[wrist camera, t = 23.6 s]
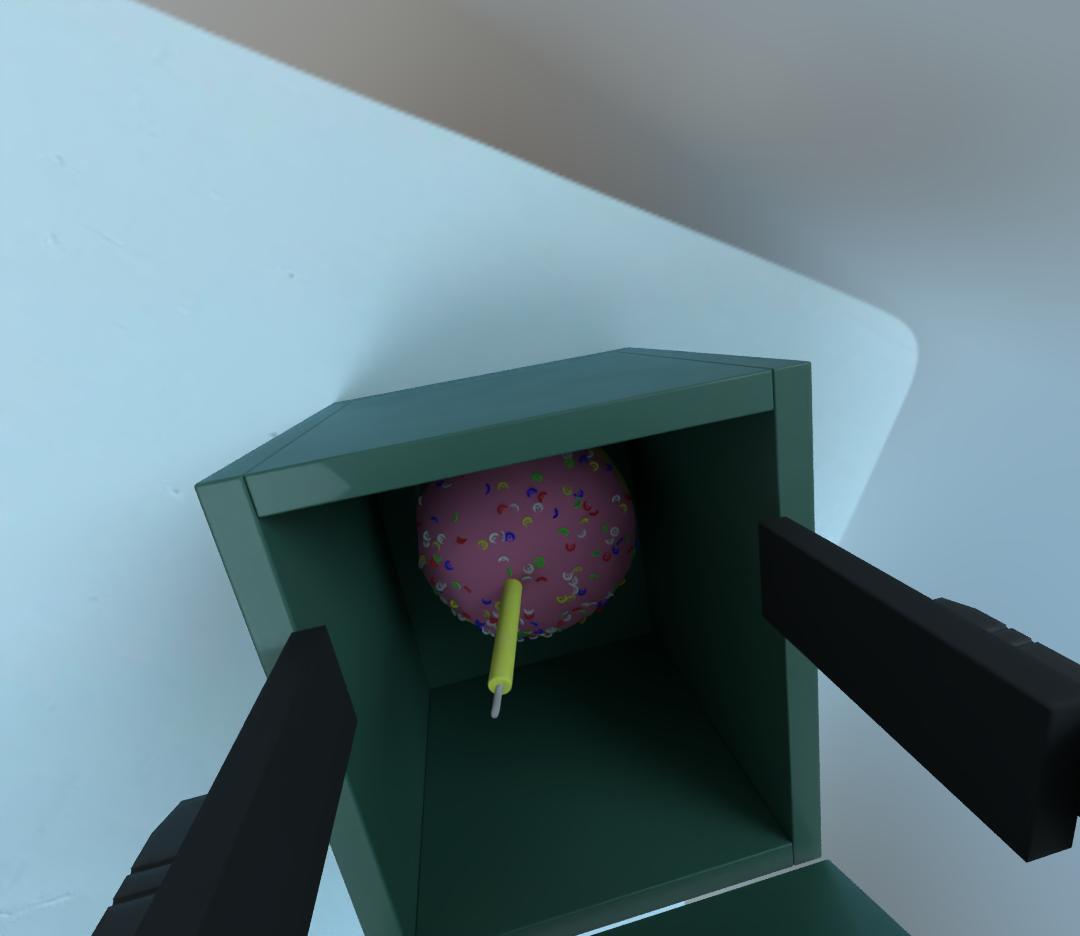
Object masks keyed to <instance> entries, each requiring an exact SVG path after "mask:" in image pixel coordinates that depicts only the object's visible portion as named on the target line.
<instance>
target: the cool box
mask: <svg viewBox="0 0 1080 936" xmlns="http://www.w3.org/2000/svg"><path fill="white" fill-rule="evenodd" d="M595 447H601V448H602V449H603V450H604V451H605V452H606V453H607V455H608V456H609V457H610V459H611V460H612V462H613V463H614V465H615V466H616V468H617V469H618V470H619V472H620V473H621V475H622V476H623V478H624V480H625V482H626V484H627V487H628V490H629V493H630V496H631V500H632V504H633V508H634V512H635V536H636V539H637V540H638V545H637V547H635V550H636V553H635V555H634V556H633V560H632V564H631V566H630V569H629V571H628V572H627V574H626V575H625V577H624V579H626V581H625V583H624V584H622V585H619V586H618V587H617V588H616V590H615V591H614V593H613V594H614V595H613V596H610V598H609V599H608V603H607V604H606V605H605V606H604V609H603V610H602V611H600V612H598V611H596V610H595V611H594V612H593V613H592V614H591V615H590V616H586V620H585V622H584V623H582V624H580V622H577V623H576V624H574V625H572V626H570V627H568V628H566V629H563V630H562V632H554V633H552V636H551V637H549V638H546V637H544V636H538V637H537V638H536V639H534V640H531V639H529V637H528V636H527V637H524V638H525V639H524V641H522V642H516V652H515V661H514V671H513V680H512V688H511V690H510V691H509V692H508V693H506V694H503V695H502V697H501V705H500V711H499V714H498V717H497V718H492V716H491V711H492V706H493V699H494V693H493V692H491V691H490V689H489V688H488V680H489V673H490V667H491V661H492V655H493V649H494V642H495V637H493V636H492V635H491V634H490V633H489V634H487V635H486V634H484V633H483V632H482V631H480V630H479V629H480V628H481V627H479V626H477V625H475V624H472V623H470V622H468V621H466V620H465V621H461V620H460V619H459V618H458V614H457V613H456V614H457V615H456V616H454V614H453V613H452V610H451V608H450V607H449V606H448V605H447V604H445V603H444V602H442V600H441V599H440V597H438V596H437V595H436V594H435V593H434V592H433V590H432V587H431V585H430V584H429V582H428V580H427V578H426V576H425V574H424V572H423V570H422V568H421V569H420V568H419V565H418V563H419V552H418V532H417V526H416V521H417V520H416V508H417V502H418V499H419V497H420V495H421V493H422V491H423V489H424V488H425V486H426V484H427V483H428V482H433V481H438V480H443V479H447V478H452V477H457V476H462V475H466V474H471V473H476V472H481V471H486V470H490V469H495V468H500V467H505V466H509V465H514V464H519V463H524V462H528V461H533V460H538V459H543V458H548V457H552V456H557V455H562V454H567V453H571V452H576V451H581V450H586V449H590V448H595ZM195 490H196V493H197V496H198V498H199V501H200V504H201V506H202V509H203V511H204V514H205V517H206V519H207V522H208V525H209V527H210V530H211V532H212V535H213V538H214V540H215V543H216V546H217V548H218V551H219V554H220V556H221V559H222V561H223V564H224V567H225V569H226V572H227V575H228V577H229V580H230V582H231V585H232V588H233V590H234V593H235V596H236V598H237V601H238V603H239V606H240V609H241V611H242V614H243V617H244V619H245V622H246V625H247V627H248V630H249V632H250V635H251V638H252V640H253V643H254V646H255V648H256V651H257V653H258V656H259V659H260V661H261V664H262V667H263V669H264V672H265V674H266V677H267V679H268V677H269V675H270V673H271V671H272V669H273V667H274V665H275V663H276V661H277V660H278V658H279V656H280V654H281V652H282V650H283V648H284V646H285V644H286V642H287V640H288V638H289V636H290V635H291V633H293V632H297V631H301V630H305V629H310V628H314V627H318V626H322V625H326V627H327V630H328V633H329V636H330V639H331V642H332V645H333V648H334V651H335V654H336V657H337V660H338V663H339V666H340V669H341V672H342V675H343V678H344V680H345V683H346V686H347V689H348V692H349V695H350V698H351V701H352V704H353V707H354V710H355V713H356V716H357V719H358V723H357V727H356V732H355V736H354V740H353V744H352V749H351V753H350V757H349V761H348V766H347V770H346V774H345V778H344V783H343V787H342V791H341V795H340V800H339V804H338V808H337V812H336V817H335V821H334V825H333V829H332V834H331V838H330V842H329V843H330V845H331V848H332V851H333V853H334V856H335V858H336V861H337V864H338V866H339V869H340V872H341V874H342V877H343V880H344V882H345V885H346V887H347V890H348V893H349V895H350V898H351V901H352V903H353V906H354V908H355V911H356V914H357V916H358V919H359V922H360V924H361V927H362V929H363V932H364V935H365V936H576V935H579V934H582V933H585V932H589V931H592V930H595V929H598V928H601V927H604V926H607V925H610V924H614V923H617V922H620V921H623V920H626V919H629V918H632V917H635V916H639V915H642V914H645V913H648V912H651V911H654V910H657V909H660V908H664V907H667V906H670V905H673V904H676V903H679V902H682V901H685V900H688V899H692V898H695V897H698V896H701V895H704V894H707V893H710V892H714V891H717V890H720V889H723V888H726V887H729V886H732V885H735V884H738V883H742V882H745V881H748V880H751V879H754V878H757V877H760V876H764V875H766V874H770V873H773V872H776V871H779V870H782V869H785V868H789V867H792V866H793V865H798V864H801V863H804V862H807V861H810V860H814V859H817V858H820V857H821V809H820V764H819V714H818V668H817V667H816V666H815V665H814V664H813V663H812V662H811V661H810V660H809V659H808V658H807V657H805V656H804V655H803V654H802V653H801V652H800V651H799V650H798V649H797V648H796V647H795V646H794V645H793V644H791V643H790V642H789V641H788V640H787V639H786V638H785V637H784V636H783V635H782V634H781V633H780V632H779V631H778V630H776V629H775V628H774V627H773V626H772V625H771V624H770V623H769V622H768V621H767V620H766V619H765V618H764V617H763V616H762V599H761V577H760V555H759V534H758V523H759V522H763V521H768V520H772V519H776V518H780V517H785V516H786V517H788V518H790V519H792V520H793V521H795V522H797V523H799V524H800V525H802V526H804V527H806V528H807V529H809V530H811V531H813V532H814V533H815V524H814V477H813V429H812V382H811V362H809V361H797V360H784V359H772V358H759V357H746V356H734V355H721V354H708V353H696V352H683V351H670V350H657V349H645V348H630V347H629V348H623V349H618V350H613V351H607V352H602V353H597V354H591V355H586V356H581V357H576V358H570V359H565V360H560V361H554V362H549V363H544V364H538V365H533V366H528V367H522V368H517V369H512V370H506V371H501V372H496V373H491V374H485V375H480V376H475V377H469V378H464V379H459V380H453V381H448V382H443V383H437V384H432V385H427V386H422V387H416V388H411V389H406V390H400V391H395V392H390V393H384V394H379V395H374V396H368V397H363V398H358V399H353V400H347V401H342V402H337V403H333V404H332V405H330V406H328V407H326V408H325V409H323V410H321V411H319V412H318V413H316V414H314V415H313V416H311V417H309V418H308V419H306V420H304V421H302V422H301V423H299V424H297V425H296V426H294V427H292V428H291V429H289V430H287V431H285V432H284V433H282V434H280V435H279V436H277V437H275V438H274V439H272V440H270V441H268V442H267V443H265V444H263V445H262V446H260V447H258V448H257V449H255V450H253V451H251V452H250V453H248V454H246V455H245V456H243V457H241V458H240V459H238V460H236V461H234V462H233V463H231V464H229V465H228V466H226V467H224V468H223V469H221V470H219V471H217V472H216V473H214V474H212V475H211V476H209V477H207V478H206V479H204V480H202V481H200V482H199V483H197V484H196V485H195ZM635 545H636V543H635ZM420 565H421V564H420ZM622 581H623V580H622ZM621 583H622V582H621ZM605 603H606V602H605ZM605 603H604V604H605ZM600 607H601V606H600ZM601 608H602V607H601ZM601 608H600V609H601ZM598 609H599V607H598ZM460 617H461V616H460ZM461 618H462V617H461ZM462 619H463V618H462ZM583 619H584V618H583ZM582 621H583V620H582ZM582 621H581V622H582ZM486 632H488V631H486ZM491 633H492V632H491ZM492 634H494V633H492ZM495 635H496V633H495ZM548 635H550V634H548ZM518 638H521V637H520V636H519V637H518ZM518 640H521V639H518Z"/></svg>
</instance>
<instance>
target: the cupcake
mask: <svg viewBox="0 0 1080 936" xmlns="http://www.w3.org/2000/svg"><path fill="white" fill-rule="evenodd" d="M416 520H417V521H416V526H417V532H418V552H419V563H418V565H419V568H420V569H421V568H422V570H423V572H424V574H425V576H426V578H427V580H428V582H429V584H430V585H431V587H432V590H433V592H434V593H435V594H436V595H437V596H438V597H440V599H441V600H442V602H444V603H445V604H447V605H448V606H449V607H450V608H451V610H452V613H453V614H454V616H456V615H457V614H458V618H459V619H460V620H461V621H465V620H466V621H468V622H470V623H472V624H475V625H477V626H479V627H481V628H480V629H479V630H480V631H482V632H483V633H484V634H486V635H487V634H489V633H490V634H491V635H492V636H493V637H495V642H494V649H493V655H492V661H491V667H490V673H489V680H488V688H489V689H490V691H491V692H493V693H494V699H493V706H492V711H491V716H492V718H497V717H498V714H499V711H500V705H501V697H502V695H503V694H506V693H508V692H509V691H510V690H511V688H512V680H513V671H514V661H515V652H516V642H522V641H524V639H525V638H524V637H527V636H528V637H529V639H531V640H534V639H536V638H537V637H538V636H544V637H546V638H549V637H551V636H552V633H554V632H562V630H563V629H566V628H568V627H570V626H572V625H574V624H576V623H577V622H580V624H582V623H584V622H585V620H586V616H590V615H591V614H592V613H593V612H594V611H595V610H596V611H598V612H600V611H602V610H603V609H604V606H605V605H606V604H607V603H608V599H609V598H610V596H613V595H614V594H613V593H614V591H615V590H616V588H617V587H618V586H619V585H622V584H624V583H625V581H626V579H624V577H625V575H626V574H627V572H628V571H629V569H630V566H631V564H632V560H633V556H634V555H635V553H636V550H635V547H637V545H638V540H637V539H636V536H635V512H634V508H633V504H632V500H631V496H630V493H629V490H628V487H627V484H626V482H625V480H624V478H623V476H622V475H621V473H620V472H619V470H618V469H617V468H616V466H615V465H614V463H613V462H612V460H611V459H610V457H609V456H608V455H607V453H606V452H605V451H604V450H603V449H602V448H601V447H595V448H590V449H586V450H581V451H576V452H571V453H567V454H562V455H557V456H552V457H548V458H543V459H538V460H533V461H528V462H524V463H519V464H514V465H509V466H505V467H500V468H495V469H490V470H486V471H481V472H476V473H471V474H466V475H462V476H457V477H452V478H447V479H443V480H438V481H433V482H428V483H427V484H426V486H425V488H424V489H423V491H422V493H421V495H420V497H419V499H418V502H417V508H416ZM635 543H636V545H635ZM420 564H421V565H420ZM622 580H623V581H622ZM621 582H622V583H621ZM605 602H606V603H605ZM604 603H605V604H604ZM600 606H601V607H602V608H601V607H600ZM598 607H599V609H598ZM600 608H601V609H600ZM456 613H457V614H456ZM460 616H461V617H462V618H463V619H462V618H461V617H460ZM583 618H584V619H583ZM582 620H583V621H582ZM581 621H582V622H581ZM486 631H488V632H486ZM491 632H492V633H494V634H492V633H491ZM495 633H496V635H495ZM548 634H550V635H548ZM519 636H520V637H521V638H518V637H519ZM518 639H521V640H518Z"/></svg>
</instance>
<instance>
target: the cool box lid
mask: <svg viewBox="0 0 1080 936" xmlns="http://www.w3.org/2000/svg"><path fill="white" fill-rule="evenodd" d="M591 936H911V935H910V934H909V933H907V932H906V931H905V930H904V929H903V928H902V927H901V926H900V925H899V924H898V923H896V921H895V920H893V919H892V918H891V917H890V916H889V915H888V914H887V913H886V912H885V911H884V910H883V909H882V908H880V907H879V906H878V905H877V904H876V903H875V902H874V901H873V900H872V899H871V898H870V897H868V896H867V895H866V894H865V893H864V892H863V891H862V890H861V889H860V888H859V887H858V886H856V884H854V883H853V882H852V881H851V880H850V879H849V878H848V877H847V876H846V875H845V874H844V873H843V872H842V871H840V870H839V869H838V868H837V867H836V866H835V865H834V864H833V863H832V862H831V861H830V860H824V861H821V862H818V863H815V864H812V865H809V866H806V867H803V868H799V869H797V870H793V871H790V872H787V873H784V874H781V875H778V876H775V877H771V878H768V879H765V880H762V881H759V882H756V883H753V884H750V885H747V886H744V887H741V888H737V889H734V890H731V891H728V892H725V893H722V894H719V895H716V896H712V897H709V898H706V899H703V900H700V901H697V902H694V903H691V904H687V905H684V906H681V907H678V908H675V909H672V910H669V911H666V912H662V913H659V914H656V915H653V916H650V917H647V918H644V919H641V920H638V921H634V922H631V923H628V924H625V925H622V926H619V927H616V928H613V929H610V930H606V931H603V932H600V933H597V934H594V935H591Z"/></svg>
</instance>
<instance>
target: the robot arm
mask: <svg viewBox="0 0 1080 936" xmlns="http://www.w3.org/2000/svg"><path fill="white" fill-rule="evenodd" d="M758 534H759V555H760V577H761V599H762V616H763V617H764V618H765V619H766V620H767V621H768V622H769V623H770V624H771V625H772V626H773V627H774V628H775V629H776V630H778V631H779V632H780V633H781V634H782V635H783V636H784V637H785V638H786V639H787V640H788V641H789V642H790V643H791V644H793V645H794V646H795V647H796V648H797V649H798V650H799V651H800V652H801V653H802V654H803V655H804V656H805V657H807V658H808V659H809V660H810V661H811V662H812V663H813V664H814V665H815V666H816V667H817V668H818V669H819V670H821V671H822V672H823V673H824V674H825V675H826V676H827V677H828V678H829V679H830V680H831V681H832V682H833V683H834V684H836V685H837V686H838V687H839V688H840V689H841V690H842V691H843V692H844V693H845V694H846V695H847V696H848V697H849V698H850V699H852V700H853V701H854V702H855V703H856V704H857V705H858V706H859V707H860V708H861V709H862V710H863V711H864V712H865V713H867V714H868V715H869V716H870V717H871V718H872V719H873V720H874V721H875V722H876V723H877V724H878V725H880V726H881V727H882V728H883V729H884V730H885V731H886V732H887V733H888V734H889V735H890V736H891V737H892V738H893V739H894V740H896V741H897V742H898V743H899V744H900V745H901V746H902V747H903V748H904V749H905V750H906V751H907V752H909V753H910V754H911V755H912V756H913V757H914V758H915V759H916V760H917V761H918V762H919V763H920V764H921V765H922V766H923V767H924V768H926V769H927V770H928V771H929V772H930V773H931V774H932V775H933V776H934V777H935V778H936V779H937V780H938V781H939V782H941V783H942V784H943V785H944V786H945V787H946V788H947V789H948V790H949V791H950V792H951V793H952V794H953V795H955V796H956V797H957V798H958V799H959V800H960V801H961V802H962V803H963V804H964V805H965V806H966V807H967V808H969V809H970V810H971V811H972V812H973V813H974V814H975V815H976V816H977V817H978V818H979V819H980V820H981V821H982V822H983V823H985V824H986V825H987V826H988V827H989V828H990V829H991V830H992V831H993V832H994V833H995V834H996V835H997V836H999V837H1000V838H1001V839H1002V840H1003V841H1004V842H1005V843H1006V844H1007V845H1008V846H1009V847H1010V848H1011V849H1012V850H1014V851H1015V852H1016V853H1017V854H1018V855H1019V856H1020V857H1021V858H1022V859H1023V860H1024V861H1025V862H1026V863H1027V862H1030V861H1033V860H1036V859H1039V858H1042V857H1045V856H1048V855H1051V854H1054V853H1057V852H1060V851H1063V850H1065V849H1068V848H1071V847H1072V843H1073V838H1074V832H1075V827H1076V822H1077V816H1079V817H1080V665H1079V664H1078V663H1076V662H1074V661H1072V660H1070V659H1068V658H1066V657H1065V656H1062V655H1061V654H1059V653H1057V652H1055V651H1054V650H1052V649H1050V648H1048V647H1046V646H1044V645H1042V644H1040V643H1039V642H1036V643H1034V642H1032V640H1031V638H1029V637H1028V636H1026V635H1024V634H1022V633H1020V632H1018V631H1016V630H1015V629H1012V628H1010V629H1008V628H1007V627H1006V625H1005V624H1003V623H1001V622H1000V621H998V620H996V619H994V618H992V617H990V616H988V615H987V614H984V613H983V612H981V611H979V610H977V609H975V608H972V607H969V606H966V605H963V604H960V603H957V602H954V601H951V600H947V599H944V598H938V599H934V600H932V599H930V598H929V597H927V596H925V595H923V594H922V593H920V592H918V591H916V590H915V589H913V588H911V587H909V586H908V585H906V584H904V583H902V582H901V581H899V580H897V579H895V578H893V577H892V576H890V575H888V574H886V573H885V572H883V571H881V570H879V569H878V568H876V567H874V566H872V565H871V564H869V563H867V562H865V561H864V560H862V559H860V558H858V557H856V556H855V555H853V554H851V553H850V552H848V551H846V550H844V549H842V548H841V547H839V546H837V545H836V544H834V543H832V542H830V541H828V540H827V539H825V538H823V537H821V536H820V535H818V534H816V533H814V532H813V531H811V530H809V529H807V528H806V527H804V526H802V525H800V524H799V523H797V522H795V521H793V520H792V519H790V518H788V517H786V516H785V517H780V518H776V519H772V520H768V521H763V522H759V523H758ZM357 723H358V719H357V716H356V713H355V710H354V707H353V704H352V701H351V698H350V695H349V692H348V689H347V686H346V683H345V680H344V678H343V675H342V672H341V669H340V666H339V663H338V660H337V657H336V654H335V651H334V648H333V645H332V642H331V639H330V636H329V633H328V630H327V627H326V625H322V626H318V627H314V628H310V629H305V630H301V631H297V632H293V633H291V635H290V636H289V638H288V640H287V642H286V644H285V646H284V648H283V650H282V652H281V654H280V656H279V658H278V660H277V661H276V663H275V665H274V667H273V669H272V671H271V673H270V675H269V677H268V679H267V681H266V683H265V685H264V687H263V688H262V690H261V692H260V694H259V696H258V698H257V700H256V702H255V704H254V706H253V708H252V710H251V712H250V713H249V715H248V717H247V719H246V721H245V723H244V725H243V727H242V729H241V731H240V733H239V735H238V737H237V739H236V740H235V742H234V744H233V746H232V748H231V750H230V752H229V754H228V756H227V758H226V760H225V762H224V764H223V765H222V767H221V769H220V771H219V773H218V775H217V777H216V779H215V781H214V783H213V785H212V787H211V789H210V791H209V792H208V794H206V795H202V796H198V797H195V798H191V799H187V800H183V801H181V802H180V803H179V805H178V806H177V807H176V808H175V809H174V810H173V811H172V812H171V813H170V814H169V815H168V816H167V817H166V819H165V820H164V821H163V822H162V823H161V824H160V825H159V826H158V827H157V828H156V829H155V830H154V832H153V833H152V834H151V835H150V837H149V839H148V841H147V842H146V844H145V846H144V847H143V849H142V851H141V852H140V854H139V856H138V858H137V859H136V861H135V863H134V864H133V866H132V868H131V874H130V875H128V876H126V878H125V880H124V881H123V883H122V885H121V886H120V888H119V890H118V892H117V893H116V895H115V897H114V898H113V905H112V906H111V907H108V908H107V910H106V912H105V914H104V915H103V917H102V919H101V920H100V922H99V924H98V925H97V927H96V929H95V931H94V932H93V934H92V936H308V931H309V927H310V923H311V919H312V914H313V910H314V906H315V902H316V897H317V893H318V889H319V885H320V880H321V876H322V872H323V868H324V863H325V859H326V855H327V851H328V846H329V842H330V838H331V834H332V829H333V825H334V821H335V817H336V812H337V808H338V804H339V800H340V795H341V791H342V787H343V783H344V778H345V774H346V770H347V766H348V761H349V757H350V753H351V749H352V744H353V740H354V736H355V732H356V727H357Z"/></svg>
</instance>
